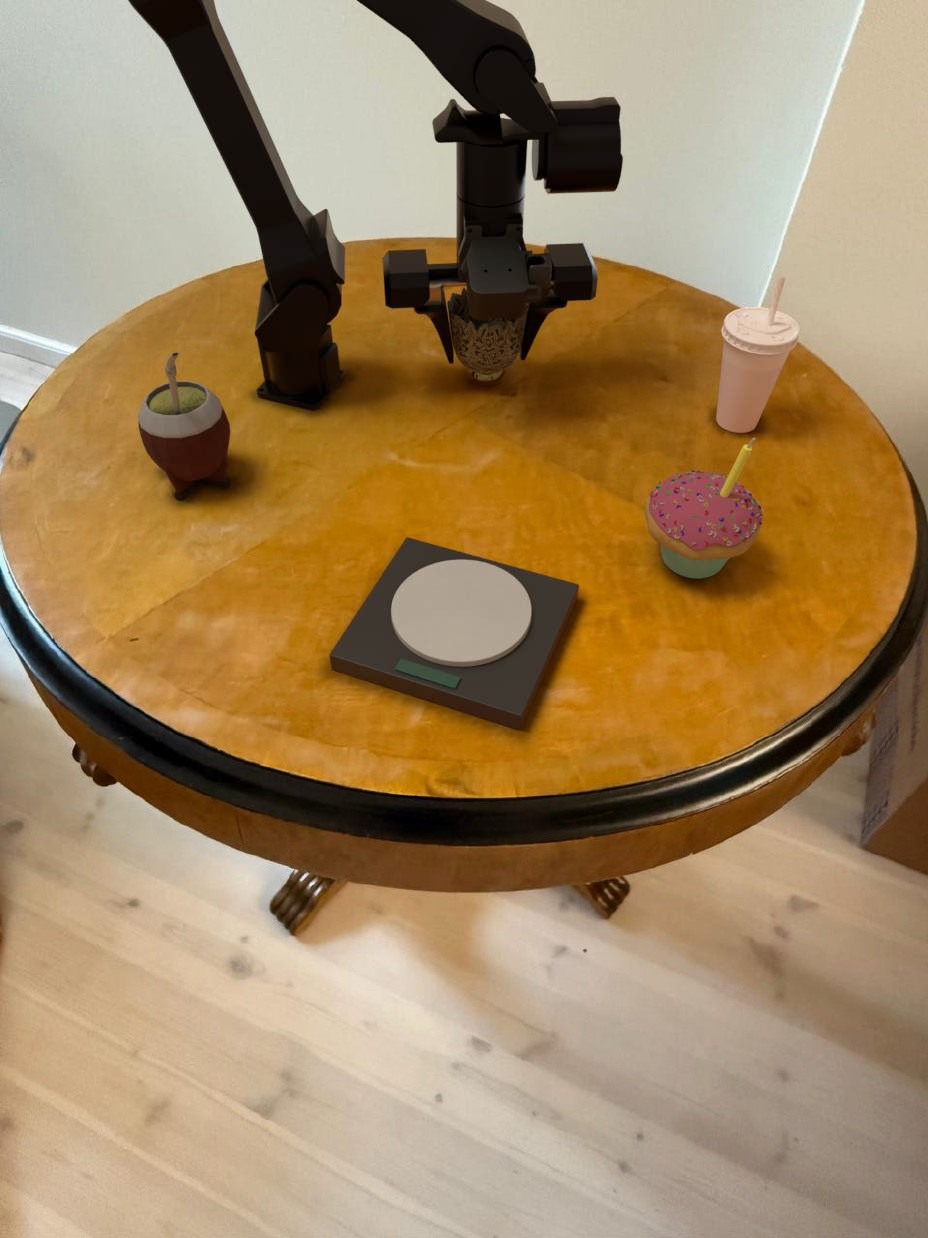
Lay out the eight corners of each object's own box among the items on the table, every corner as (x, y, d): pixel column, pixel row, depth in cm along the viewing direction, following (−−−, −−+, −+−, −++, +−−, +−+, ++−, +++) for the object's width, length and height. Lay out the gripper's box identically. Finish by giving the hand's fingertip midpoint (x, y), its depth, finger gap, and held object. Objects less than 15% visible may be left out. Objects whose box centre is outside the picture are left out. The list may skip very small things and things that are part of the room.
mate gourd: (186, 446, 80) (142, 286, 69) (263, 465, 78) (231, 304, 67) (136, 496, 75) (81, 333, 64) (217, 518, 73) (175, 354, 62)
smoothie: (772, 445, 80) (818, 298, 70) (700, 436, 81) (734, 290, 71) (770, 405, 85) (813, 261, 74) (701, 397, 85) (734, 254, 75)
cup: (445, 359, 90) (444, 283, 84) (518, 356, 90) (522, 280, 84) (451, 401, 85) (450, 323, 79) (528, 398, 85) (533, 320, 79)
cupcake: (752, 536, 72) (793, 410, 63) (739, 609, 67) (781, 481, 58) (647, 513, 74) (672, 387, 65) (625, 582, 69) (650, 454, 60)
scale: (331, 669, 63) (327, 649, 61) (407, 551, 71) (406, 530, 69) (520, 730, 59) (522, 710, 58) (577, 599, 67) (580, 578, 66)
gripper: (381, 240, 69) (392, 413, 80) (621, 231, 70) (598, 402, 81) (377, 182, 76) (388, 347, 88) (593, 174, 77) (576, 338, 89)
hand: (486, 359), depth 86 cm, fingers closed on cup, 6 cm apart
